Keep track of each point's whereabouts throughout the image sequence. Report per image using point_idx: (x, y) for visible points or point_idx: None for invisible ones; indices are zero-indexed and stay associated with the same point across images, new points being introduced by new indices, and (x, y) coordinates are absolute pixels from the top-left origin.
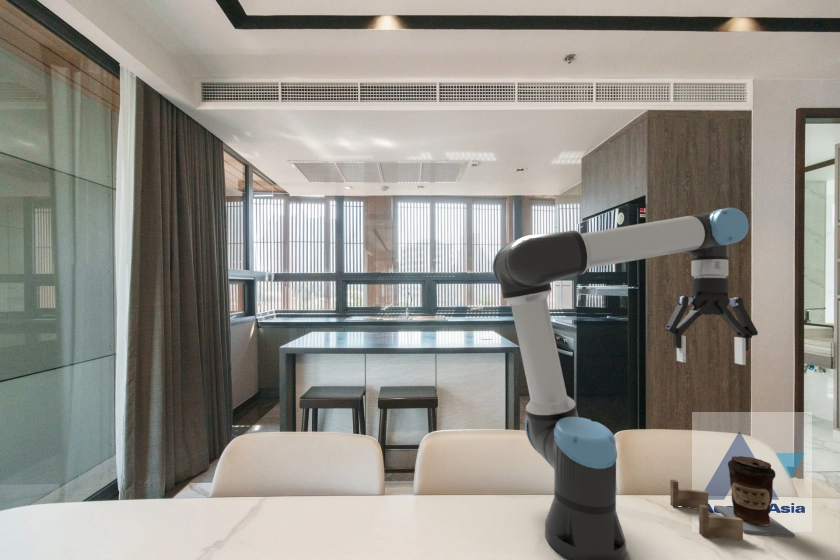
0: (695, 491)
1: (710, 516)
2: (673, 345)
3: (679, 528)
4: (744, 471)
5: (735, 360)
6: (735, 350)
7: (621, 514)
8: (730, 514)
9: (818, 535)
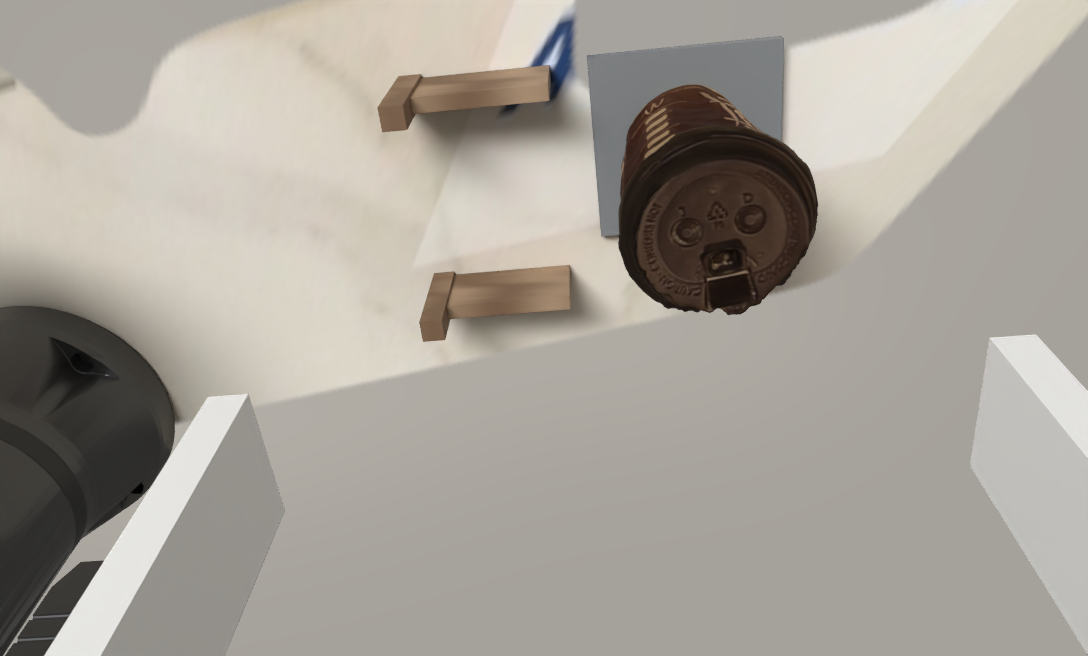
0: (492, 104)
1: (460, 312)
2: (55, 591)
3: (374, 259)
4: (644, 288)
5: (1002, 376)
6: (1077, 472)
7: (181, 214)
8: (615, 127)
9: (885, 179)
